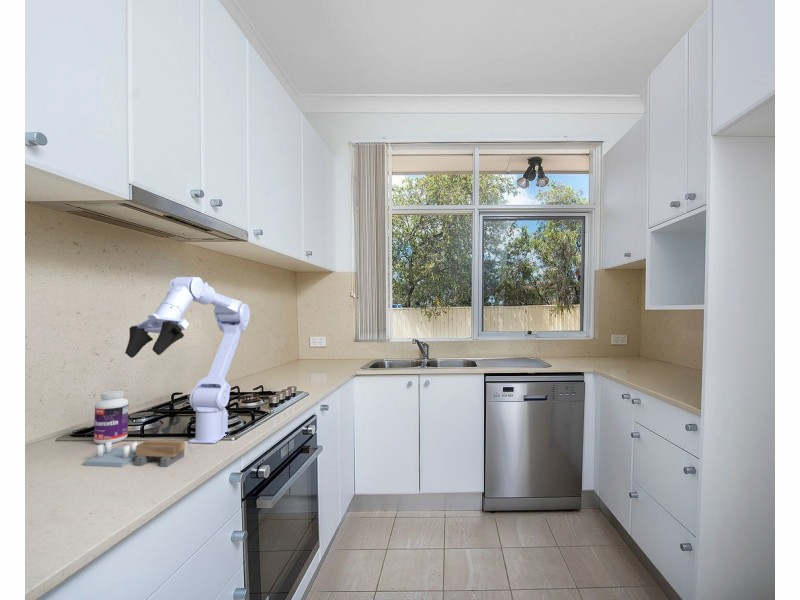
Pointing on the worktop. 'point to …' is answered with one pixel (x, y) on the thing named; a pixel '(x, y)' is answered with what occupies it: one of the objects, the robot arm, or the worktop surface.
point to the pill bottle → (111, 417)
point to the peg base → (113, 455)
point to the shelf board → (160, 448)
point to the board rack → (164, 461)
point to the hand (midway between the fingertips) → (142, 353)
